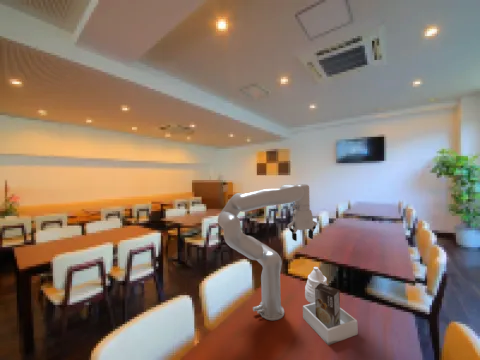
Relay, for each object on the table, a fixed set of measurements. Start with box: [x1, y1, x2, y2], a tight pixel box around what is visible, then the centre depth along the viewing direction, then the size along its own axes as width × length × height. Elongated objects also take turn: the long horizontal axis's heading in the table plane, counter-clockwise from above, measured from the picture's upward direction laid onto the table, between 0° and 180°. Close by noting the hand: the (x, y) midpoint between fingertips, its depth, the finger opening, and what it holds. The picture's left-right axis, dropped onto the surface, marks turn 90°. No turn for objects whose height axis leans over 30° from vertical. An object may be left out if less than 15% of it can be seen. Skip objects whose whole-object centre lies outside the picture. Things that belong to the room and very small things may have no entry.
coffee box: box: [315, 283, 341, 329], centre depth 92 cm, size 9×6×16 cm
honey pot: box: [304, 266, 328, 304], centre depth 112 cm, size 13×13×18 cm
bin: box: [302, 303, 359, 346], centre depth 92 cm, size 16×17×6 cm
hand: (302, 239), depth 108 cm, fingers open, 9 cm apart
